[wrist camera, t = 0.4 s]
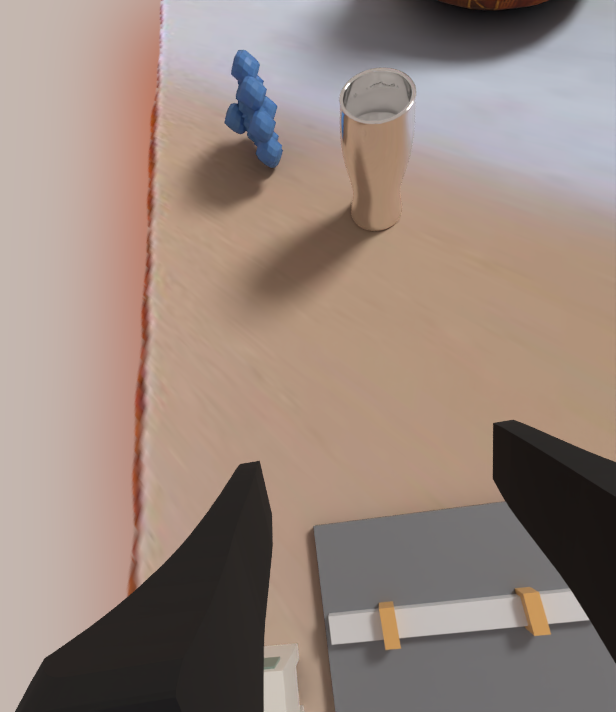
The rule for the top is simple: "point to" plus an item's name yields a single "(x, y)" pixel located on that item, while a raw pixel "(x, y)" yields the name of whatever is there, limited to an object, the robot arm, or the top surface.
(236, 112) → the grapes
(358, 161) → the beer glass
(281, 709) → the block
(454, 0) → the jug
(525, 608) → the mounting board
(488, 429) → the top surface
